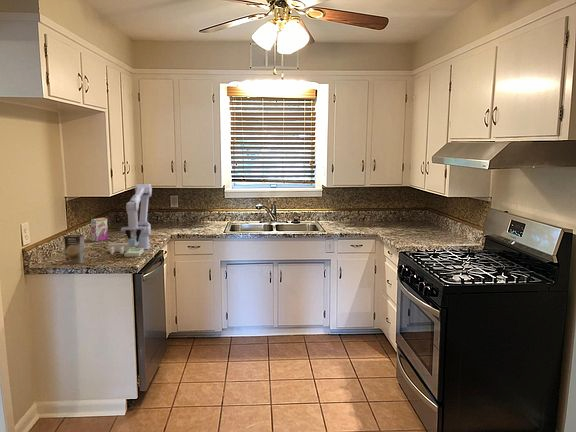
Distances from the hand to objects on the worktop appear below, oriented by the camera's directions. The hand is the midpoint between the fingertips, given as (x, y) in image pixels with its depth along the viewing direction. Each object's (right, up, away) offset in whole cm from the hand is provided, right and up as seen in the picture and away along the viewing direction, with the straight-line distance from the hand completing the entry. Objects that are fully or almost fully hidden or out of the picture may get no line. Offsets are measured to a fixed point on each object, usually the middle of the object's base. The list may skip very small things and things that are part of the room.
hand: (133, 241), depth 284 cm
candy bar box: (-42, -2, +47) cm, 63 cm away
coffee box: (-28, -11, -20) cm, 36 cm away
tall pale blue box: (0, -2, -1) cm, 2 cm away
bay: (-13, -7, +7) cm, 16 cm away
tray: (0, -8, +1) cm, 8 cm away
